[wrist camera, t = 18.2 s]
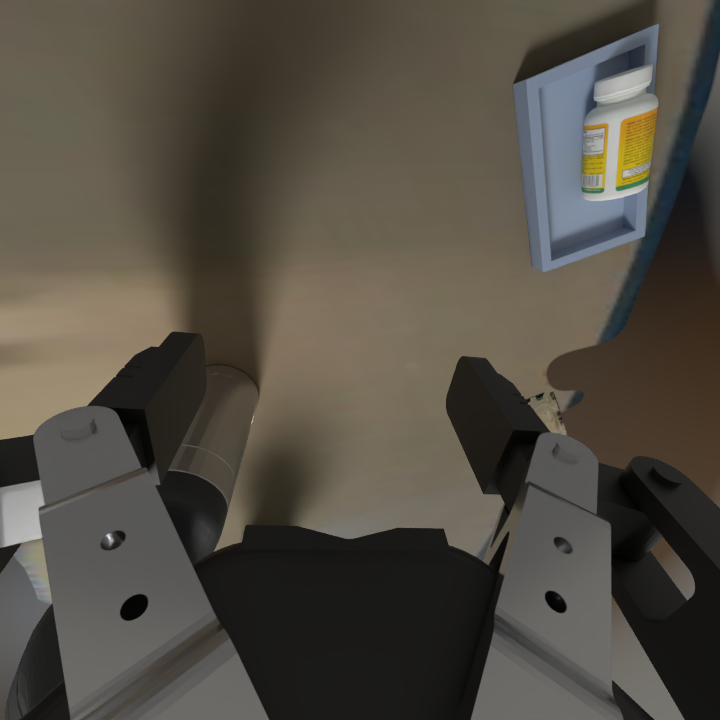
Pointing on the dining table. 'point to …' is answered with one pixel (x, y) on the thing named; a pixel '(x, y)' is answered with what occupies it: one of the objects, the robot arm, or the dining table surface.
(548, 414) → the parchment
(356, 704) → the robot arm
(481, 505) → the dining table surface
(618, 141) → the supplement bottle
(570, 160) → the tray
